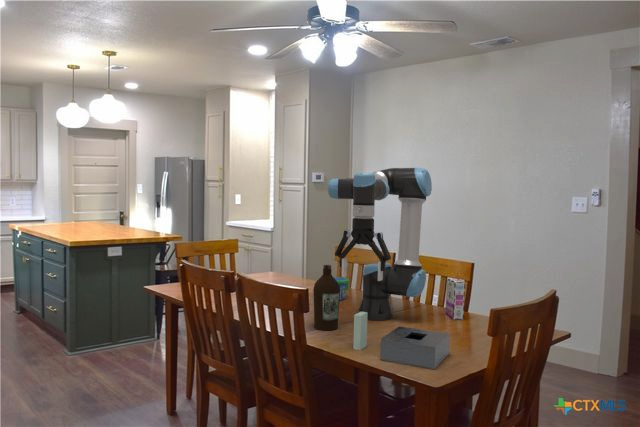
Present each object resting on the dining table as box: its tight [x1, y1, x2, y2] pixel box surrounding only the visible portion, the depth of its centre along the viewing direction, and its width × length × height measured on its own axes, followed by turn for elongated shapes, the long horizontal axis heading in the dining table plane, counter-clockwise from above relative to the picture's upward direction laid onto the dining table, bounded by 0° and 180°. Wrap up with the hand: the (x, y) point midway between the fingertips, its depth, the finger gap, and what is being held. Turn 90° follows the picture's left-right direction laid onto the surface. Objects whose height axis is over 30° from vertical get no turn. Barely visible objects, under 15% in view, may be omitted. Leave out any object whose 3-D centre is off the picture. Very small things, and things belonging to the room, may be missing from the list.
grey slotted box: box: [379, 326, 451, 370], centre depth 181 cm, size 18×18×7 cm
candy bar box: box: [445, 277, 466, 321], centre depth 237 cm, size 11×5×16 cm, turn 5°
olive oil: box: [312, 264, 341, 332], centre depth 215 cm, size 11×11×25 cm
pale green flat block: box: [353, 312, 368, 351], centre depth 190 cm, size 2×6×12 cm, turn 153°
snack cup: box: [333, 276, 350, 301], centre depth 269 cm, size 16×10×10 cm
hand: (361, 278), depth 189 cm, fingers open, 13 cm apart
